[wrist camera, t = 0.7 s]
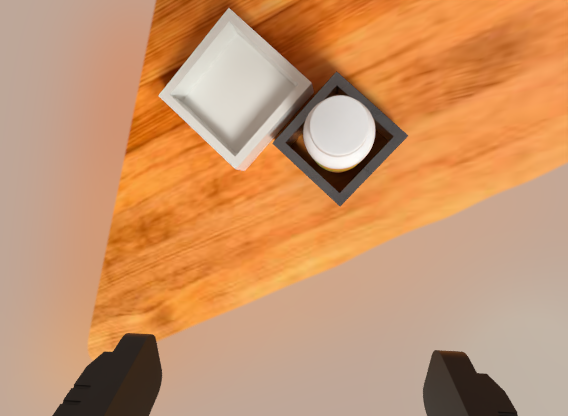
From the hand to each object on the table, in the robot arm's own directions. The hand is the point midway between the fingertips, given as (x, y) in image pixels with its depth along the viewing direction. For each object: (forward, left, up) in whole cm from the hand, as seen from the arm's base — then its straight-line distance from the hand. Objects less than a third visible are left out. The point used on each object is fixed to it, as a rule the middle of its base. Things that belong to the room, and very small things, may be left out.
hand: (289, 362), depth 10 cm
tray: (-5, -15, -23) cm, 28 cm away
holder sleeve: (-8, -5, -23) cm, 25 cm away
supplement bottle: (-8, -5, -23) cm, 25 cm away
